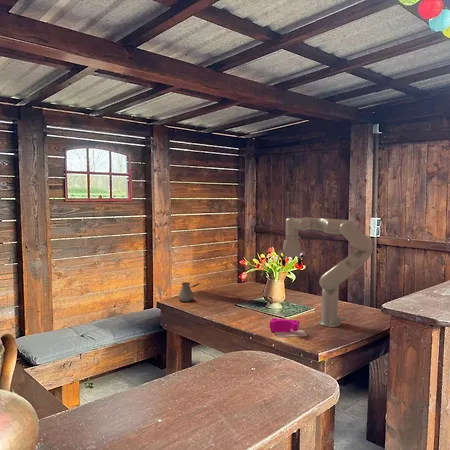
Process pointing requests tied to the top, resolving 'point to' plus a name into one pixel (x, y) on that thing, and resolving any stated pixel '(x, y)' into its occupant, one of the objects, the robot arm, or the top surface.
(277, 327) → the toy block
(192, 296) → the coffee pot
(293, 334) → the mat
